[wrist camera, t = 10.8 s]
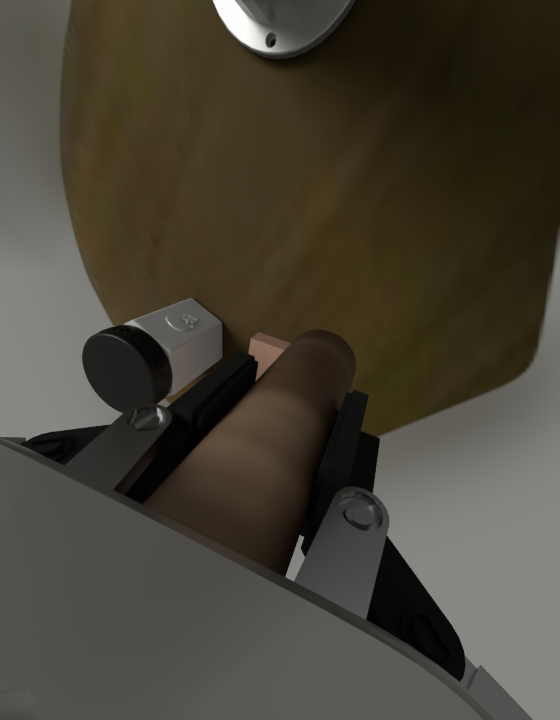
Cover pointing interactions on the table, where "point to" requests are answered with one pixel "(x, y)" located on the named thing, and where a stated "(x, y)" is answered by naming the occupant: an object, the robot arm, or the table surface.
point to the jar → (152, 355)
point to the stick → (264, 455)
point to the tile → (266, 351)
